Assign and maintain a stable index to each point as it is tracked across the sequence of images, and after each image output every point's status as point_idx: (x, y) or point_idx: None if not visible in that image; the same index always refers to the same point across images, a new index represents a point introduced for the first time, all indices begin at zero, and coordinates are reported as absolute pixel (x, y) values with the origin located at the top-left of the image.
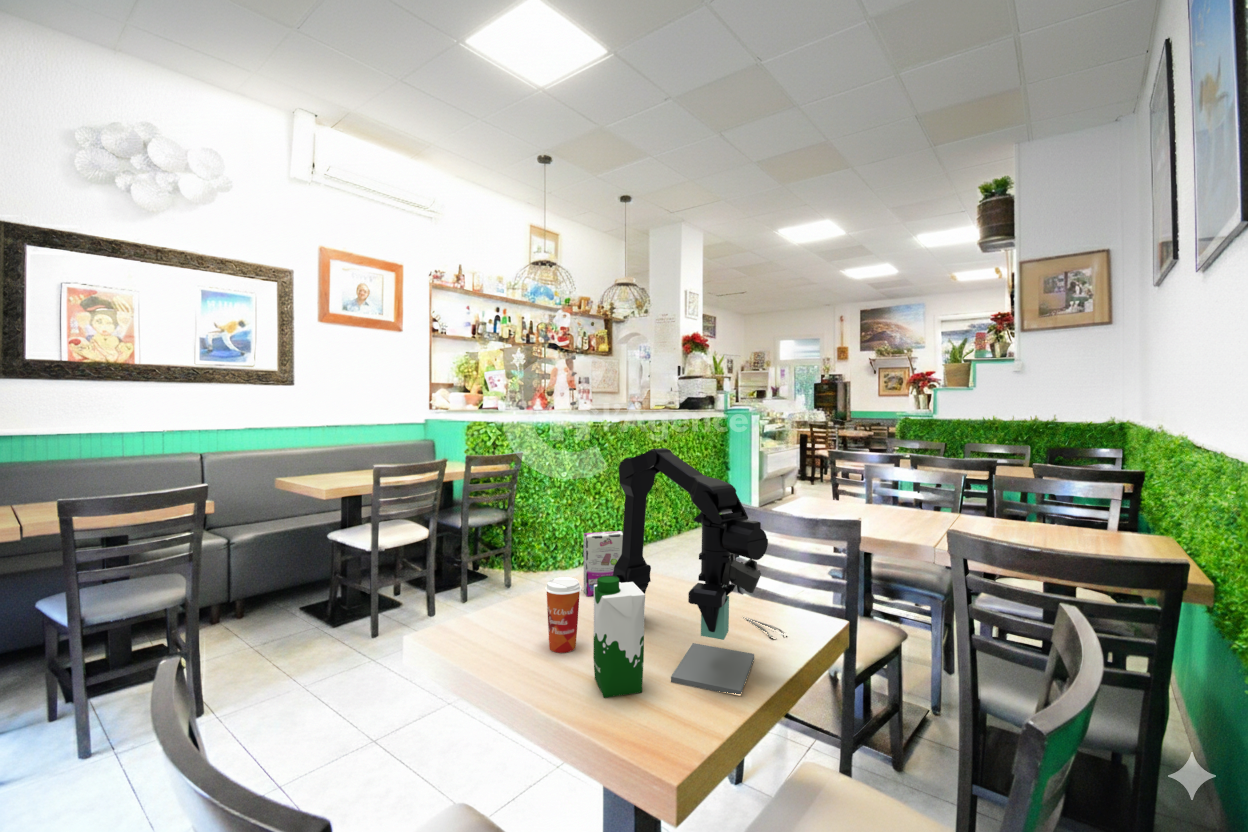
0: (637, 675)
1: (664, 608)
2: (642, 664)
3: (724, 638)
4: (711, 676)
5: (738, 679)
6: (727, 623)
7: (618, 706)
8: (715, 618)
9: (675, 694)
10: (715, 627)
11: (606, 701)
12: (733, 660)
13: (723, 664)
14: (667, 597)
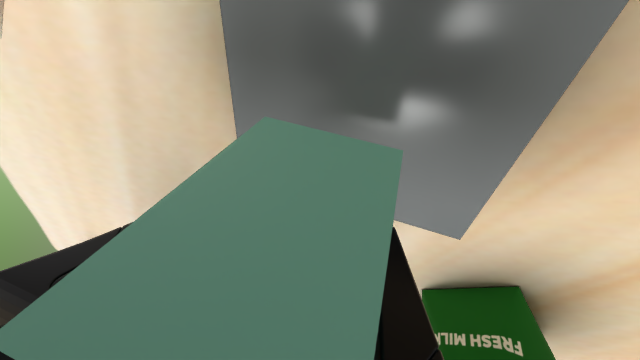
0: (544, 343)
1: (120, 206)
2: (517, 350)
3: (382, 146)
4: (456, 132)
5: (487, 13)
6: (272, 156)
7: (587, 328)
8: (431, 341)
9: (541, 225)
10: (398, 249)
11: (554, 337)
12: (306, 47)
13: (349, 87)
14: (78, 198)
